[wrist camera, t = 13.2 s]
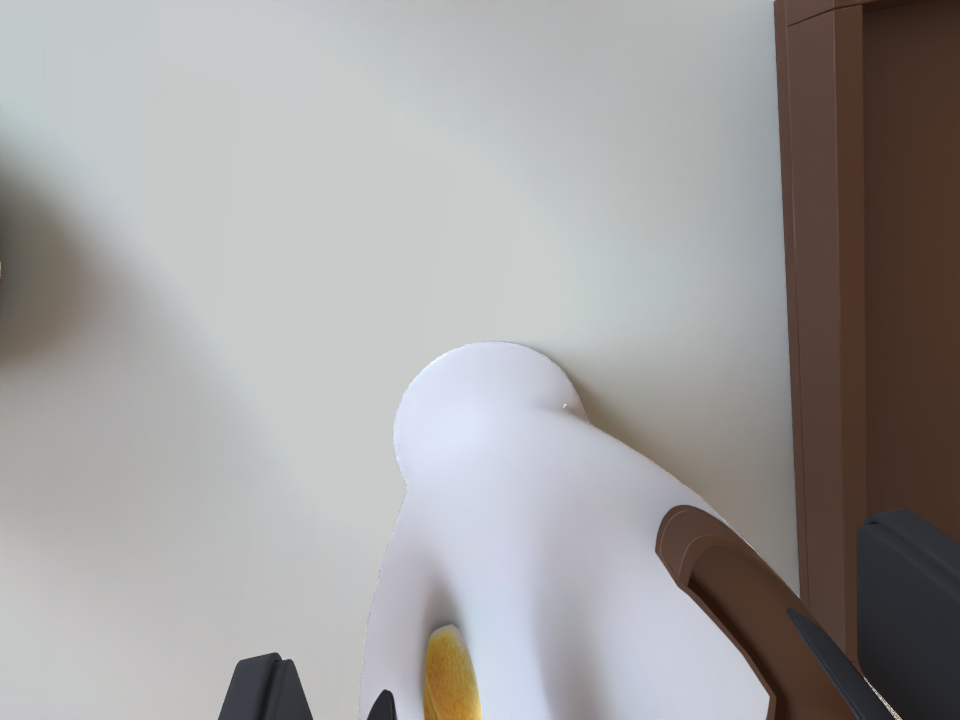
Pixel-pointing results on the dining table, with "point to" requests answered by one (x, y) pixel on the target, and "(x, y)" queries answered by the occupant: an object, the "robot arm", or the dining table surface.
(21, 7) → the dining table surface
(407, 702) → the beer glass
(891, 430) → the tray
